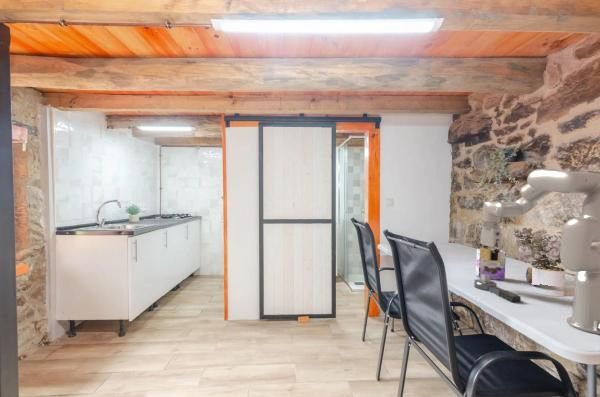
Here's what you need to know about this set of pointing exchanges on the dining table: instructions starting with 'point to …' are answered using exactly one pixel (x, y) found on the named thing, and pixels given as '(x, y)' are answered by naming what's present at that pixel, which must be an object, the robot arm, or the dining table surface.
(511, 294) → the ratchet
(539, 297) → the dining table surface
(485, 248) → the tan cube
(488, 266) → the candy box
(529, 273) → the tin
